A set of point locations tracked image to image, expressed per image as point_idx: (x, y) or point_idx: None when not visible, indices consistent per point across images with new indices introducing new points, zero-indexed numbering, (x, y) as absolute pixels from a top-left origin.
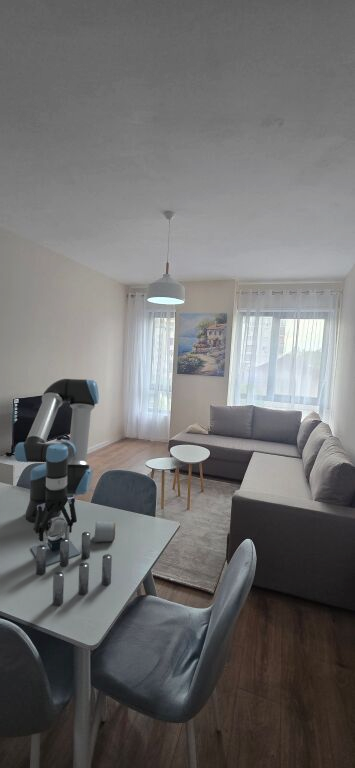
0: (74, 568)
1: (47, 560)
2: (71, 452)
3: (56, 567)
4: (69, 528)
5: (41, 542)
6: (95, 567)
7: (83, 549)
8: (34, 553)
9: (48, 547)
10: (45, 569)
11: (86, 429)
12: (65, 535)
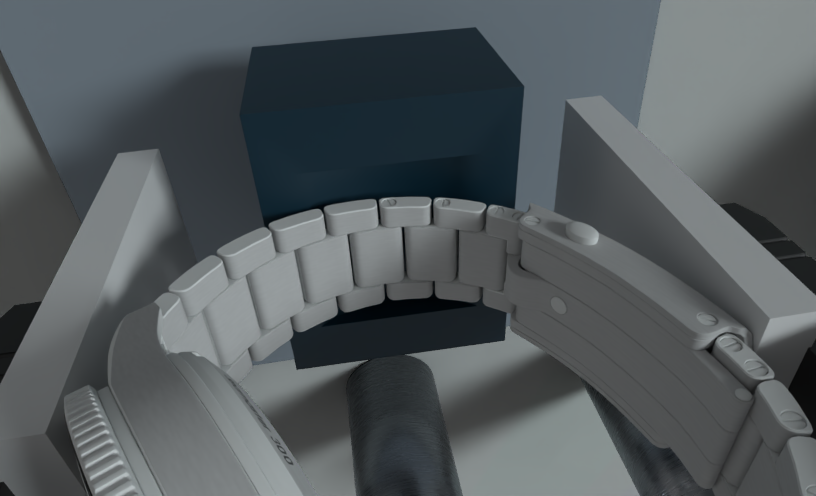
0: (454, 445)
1: None
2: None
3: (310, 398)
4: None
5: (95, 212)
6: (598, 470)
7: (624, 463)
8: (21, 85)
9: (274, 5)
10: None
11: None
12: (603, 189)
